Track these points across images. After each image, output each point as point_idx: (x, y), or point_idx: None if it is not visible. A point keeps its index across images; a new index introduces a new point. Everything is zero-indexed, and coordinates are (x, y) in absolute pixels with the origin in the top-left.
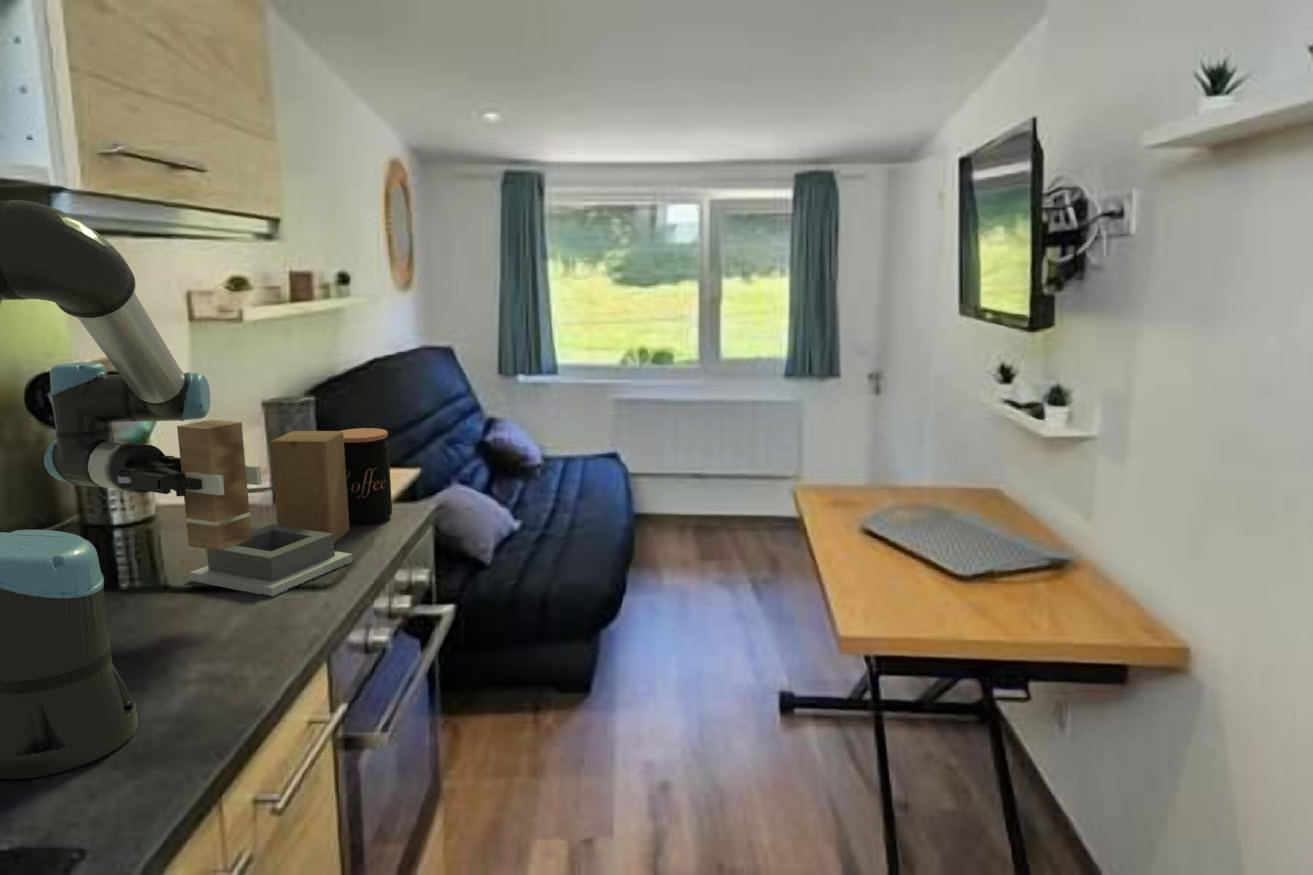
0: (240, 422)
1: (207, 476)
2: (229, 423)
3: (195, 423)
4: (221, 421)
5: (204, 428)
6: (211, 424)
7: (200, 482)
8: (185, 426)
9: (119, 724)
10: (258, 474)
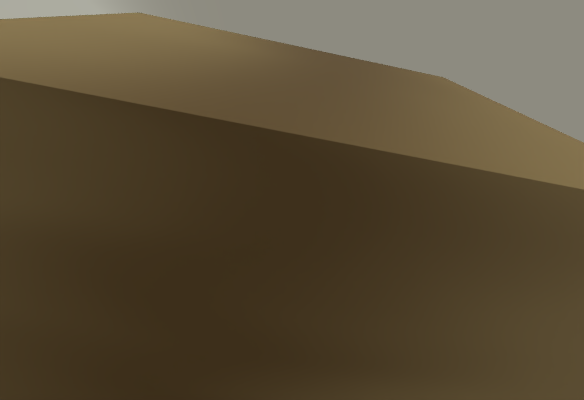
0: (144, 14)
1: None
2: (208, 31)
3: (360, 123)
4: (96, 28)
5: (450, 81)
6: (304, 64)
7: None
8: (582, 147)
9: None
10: None
